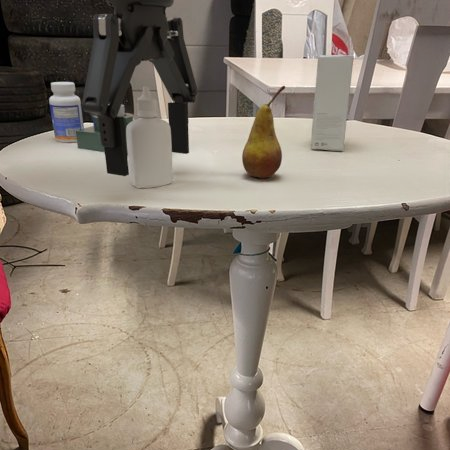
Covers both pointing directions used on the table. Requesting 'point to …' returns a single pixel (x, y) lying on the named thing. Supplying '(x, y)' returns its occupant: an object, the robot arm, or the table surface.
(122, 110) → the pump button
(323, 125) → the cosmetic box
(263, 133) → the fruit
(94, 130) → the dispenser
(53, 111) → the pill bottle
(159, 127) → the eye dropper bottle
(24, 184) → the table surface
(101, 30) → the robot arm
